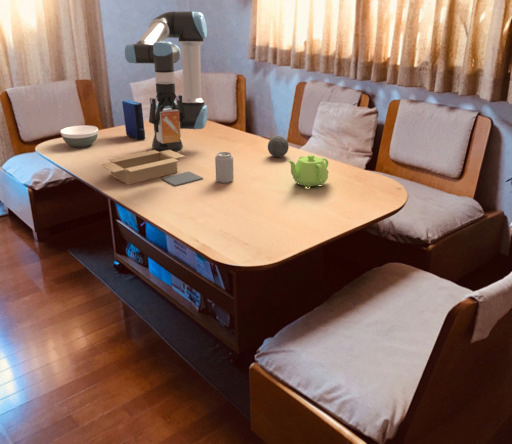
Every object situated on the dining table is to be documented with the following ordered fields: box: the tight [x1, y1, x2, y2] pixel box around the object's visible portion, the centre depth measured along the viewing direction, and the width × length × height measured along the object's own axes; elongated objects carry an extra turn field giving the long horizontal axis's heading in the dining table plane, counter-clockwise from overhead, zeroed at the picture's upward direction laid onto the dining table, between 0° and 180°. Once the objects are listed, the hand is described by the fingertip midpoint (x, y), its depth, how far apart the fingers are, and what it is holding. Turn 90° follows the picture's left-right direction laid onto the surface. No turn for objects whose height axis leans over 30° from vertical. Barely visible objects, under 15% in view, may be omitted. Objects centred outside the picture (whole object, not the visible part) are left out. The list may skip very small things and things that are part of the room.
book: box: [121, 99, 146, 141], centre depth 284 cm, size 14×5×20 cm, turn 42°
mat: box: [160, 171, 204, 187], centre depth 228 cm, size 14×11×1 cm
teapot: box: [287, 154, 329, 188], centre depth 219 cm, size 16×14×13 cm
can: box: [214, 151, 235, 184], centre depth 224 cm, size 8×8×12 cm
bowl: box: [59, 125, 99, 149], centre depth 273 cm, size 19×19×8 cm
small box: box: [155, 108, 181, 144], centre depth 220 cm, size 8×6×13 cm
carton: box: [99, 149, 186, 185], centre depth 233 cm, size 34×21×6 cm, turn 129°
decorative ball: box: [267, 135, 289, 158], centre depth 255 cm, size 10×10×10 cm
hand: (168, 137), depth 222 cm, fingers closed on small box, 8 cm apart
